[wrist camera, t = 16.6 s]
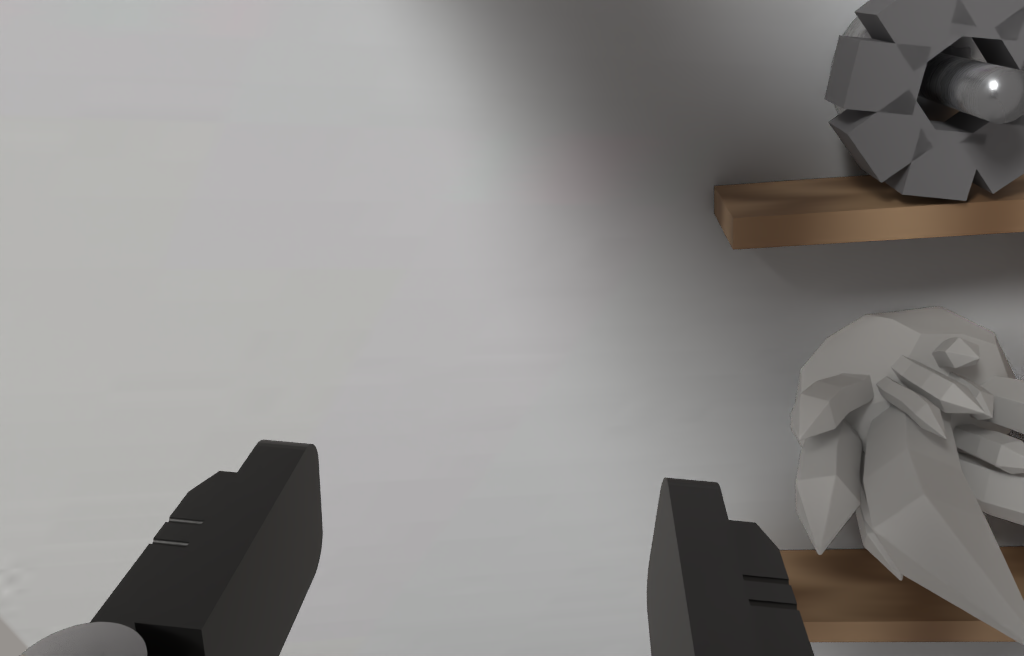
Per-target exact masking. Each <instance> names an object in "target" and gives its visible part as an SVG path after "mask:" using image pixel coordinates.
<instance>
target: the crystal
mask: <svg viewBox="0 0 1024 656" xmlns="http://www.w3.org/2000/svg"><path fill="white" fill-rule="evenodd" d="M790 417H791V424H790V425H791V430H792V432H793V433H794V435H795V437H796V438H797V440H798V442H799V443H800V445H801V447H802V450H801V453H800V458H799V464H798V470H797V476H796V482H795V493H796V512H797V514H798V516H799V518H800V520H801V522H802V524H803V526H804V528H805V530H806V532H807V534H808V536H809V538H810V540H811V542H812V544H813V546H814V548H815V550H816V552H817V553H818V554H819V555H821V554H822V553H823V552H824V551H825V550H826V548H827V547H828V546H829V544H830V543H831V542H832V541H833V539H834V538H835V537H836V535H837V534H838V533H839V531H840V530H841V529H842V528H843V526H844V525H845V524H846V522H847V521H848V520H849V519H850V517H851V516H852V515H853V513H854V512H855V511H856V517H857V521H858V525H859V530H860V534H861V538H862V542H863V546H864V547H865V548H866V549H867V550H868V551H869V552H870V553H871V554H872V555H873V556H874V557H876V558H877V559H878V560H879V561H880V562H881V563H882V564H883V565H884V566H885V567H886V568H887V569H888V570H889V571H890V572H892V573H893V574H894V575H895V576H896V577H897V578H898V579H899V580H902V579H903V575H904V576H906V577H907V578H909V579H911V580H912V581H914V582H916V583H918V584H919V585H921V586H923V587H924V588H926V589H928V590H930V591H931V592H933V593H935V594H936V595H938V596H940V597H942V598H943V599H945V600H947V601H948V602H950V603H952V604H954V605H955V606H957V607H959V608H961V609H962V610H964V611H966V612H967V613H969V614H971V615H973V616H974V617H976V618H978V619H979V620H981V621H983V622H985V623H986V624H988V625H990V626H991V627H993V628H995V629H997V630H998V631H1000V632H1002V633H1003V634H1005V635H1007V636H1008V637H1010V638H1012V639H1014V640H1015V641H1017V642H1019V643H1020V644H1022V645H1024V600H1023V598H1022V596H1021V594H1020V591H1019V589H1018V587H1017V585H1016V583H1015V581H1014V578H1013V576H1012V574H1011V572H1010V570H1009V567H1008V565H1007V563H1006V561H1005V559H1004V557H1003V554H1002V552H1001V550H1000V548H999V546H998V543H997V541H996V539H995V537H994V535H993V533H992V530H991V528H990V526H989V524H988V522H987V520H986V518H985V516H984V514H983V512H985V513H987V514H989V515H991V516H994V517H998V518H1001V519H1004V520H1007V521H1011V522H1014V523H1017V524H1021V525H1024V443H1023V442H1022V441H1021V440H1019V439H1016V438H1014V437H1011V436H1008V434H1009V433H1010V432H1011V430H1014V431H1016V432H1019V433H1022V434H1024V380H1018V379H1016V378H1015V376H1014V374H1013V371H1012V369H1011V367H1010V365H1009V363H1008V361H1007V359H1006V357H1005V355H1004V353H1003V351H1002V349H1001V346H1000V344H999V342H998V340H997V338H996V336H995V334H994V332H992V331H990V330H988V329H986V328H984V327H982V326H980V325H978V324H976V323H974V322H972V321H970V320H968V319H966V318H964V317H961V316H959V315H957V314H955V313H953V312H951V311H949V310H947V309H945V308H943V307H939V306H935V307H927V308H919V309H911V310H903V311H895V312H887V313H876V314H866V315H864V316H862V317H861V318H859V319H857V320H856V321H854V322H852V323H851V324H849V325H847V326H846V327H844V328H842V329H841V330H839V331H838V332H836V333H834V334H833V335H831V336H829V337H828V338H827V339H826V340H825V341H824V342H823V343H822V345H821V346H820V347H819V348H818V349H817V350H816V352H815V353H814V354H813V355H812V356H811V357H810V359H809V360H808V361H807V362H806V363H805V365H804V366H803V367H802V368H801V370H800V376H799V383H798V389H797V394H796V399H795V404H794V407H793V409H792V411H791V413H790ZM982 511H983V512H982Z"/></svg>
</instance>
